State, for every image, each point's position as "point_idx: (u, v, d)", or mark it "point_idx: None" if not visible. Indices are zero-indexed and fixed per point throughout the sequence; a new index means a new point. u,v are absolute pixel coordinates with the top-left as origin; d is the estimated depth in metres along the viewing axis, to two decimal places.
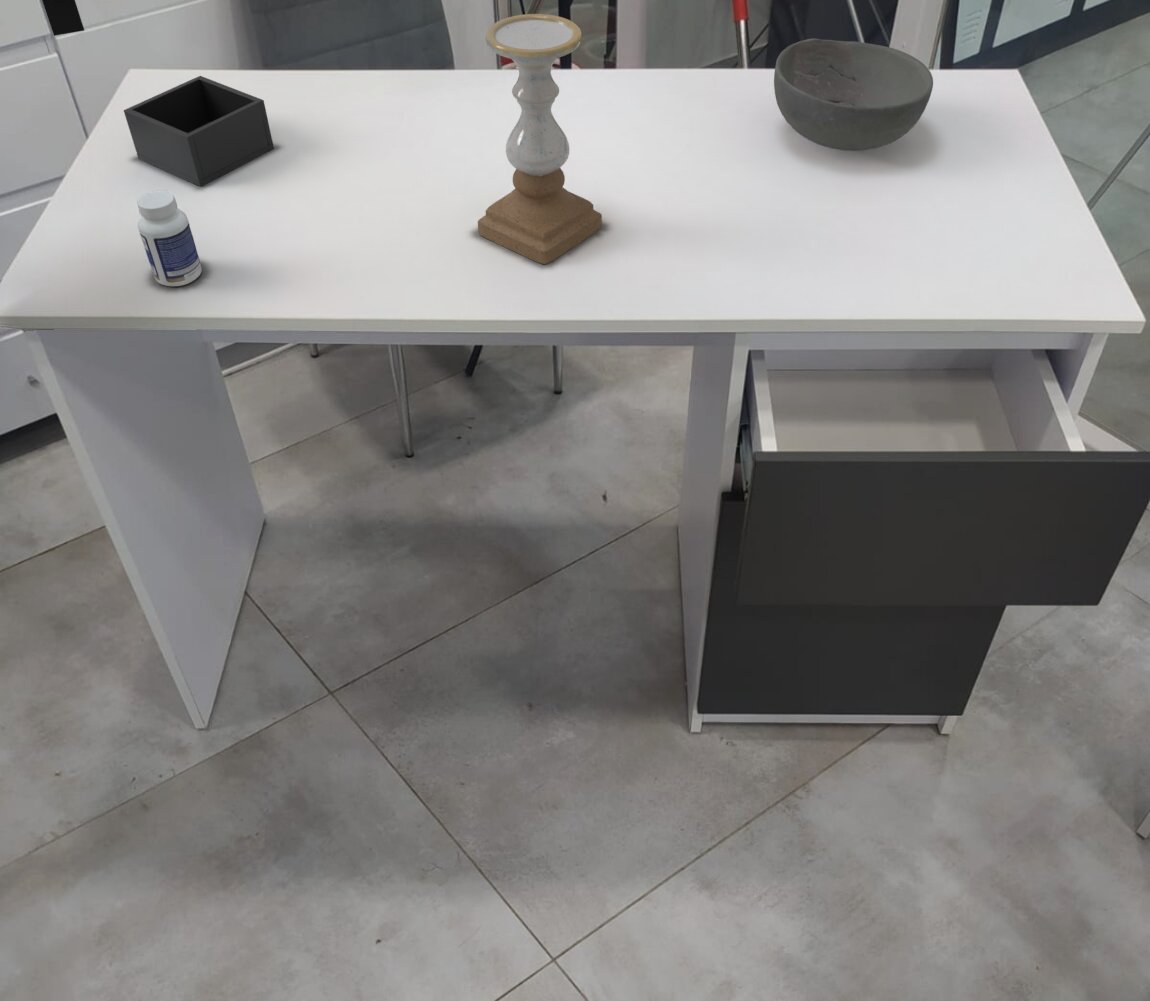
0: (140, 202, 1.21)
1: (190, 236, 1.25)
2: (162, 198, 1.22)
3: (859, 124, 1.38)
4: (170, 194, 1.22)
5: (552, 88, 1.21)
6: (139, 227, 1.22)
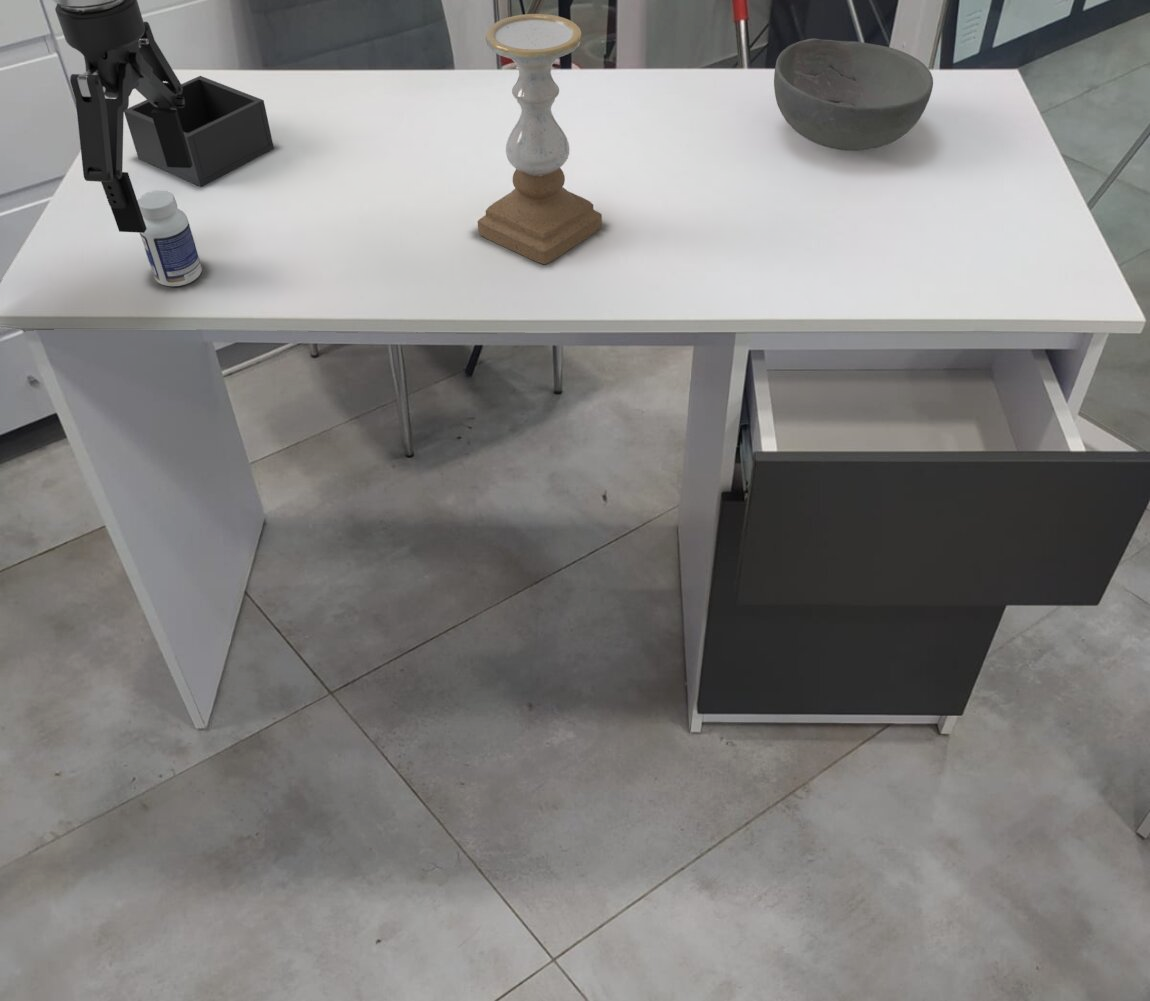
0: (140, 202, 1.21)
1: (190, 236, 1.25)
2: (162, 198, 1.22)
3: (859, 124, 1.38)
4: (170, 194, 1.22)
5: (552, 88, 1.21)
6: None
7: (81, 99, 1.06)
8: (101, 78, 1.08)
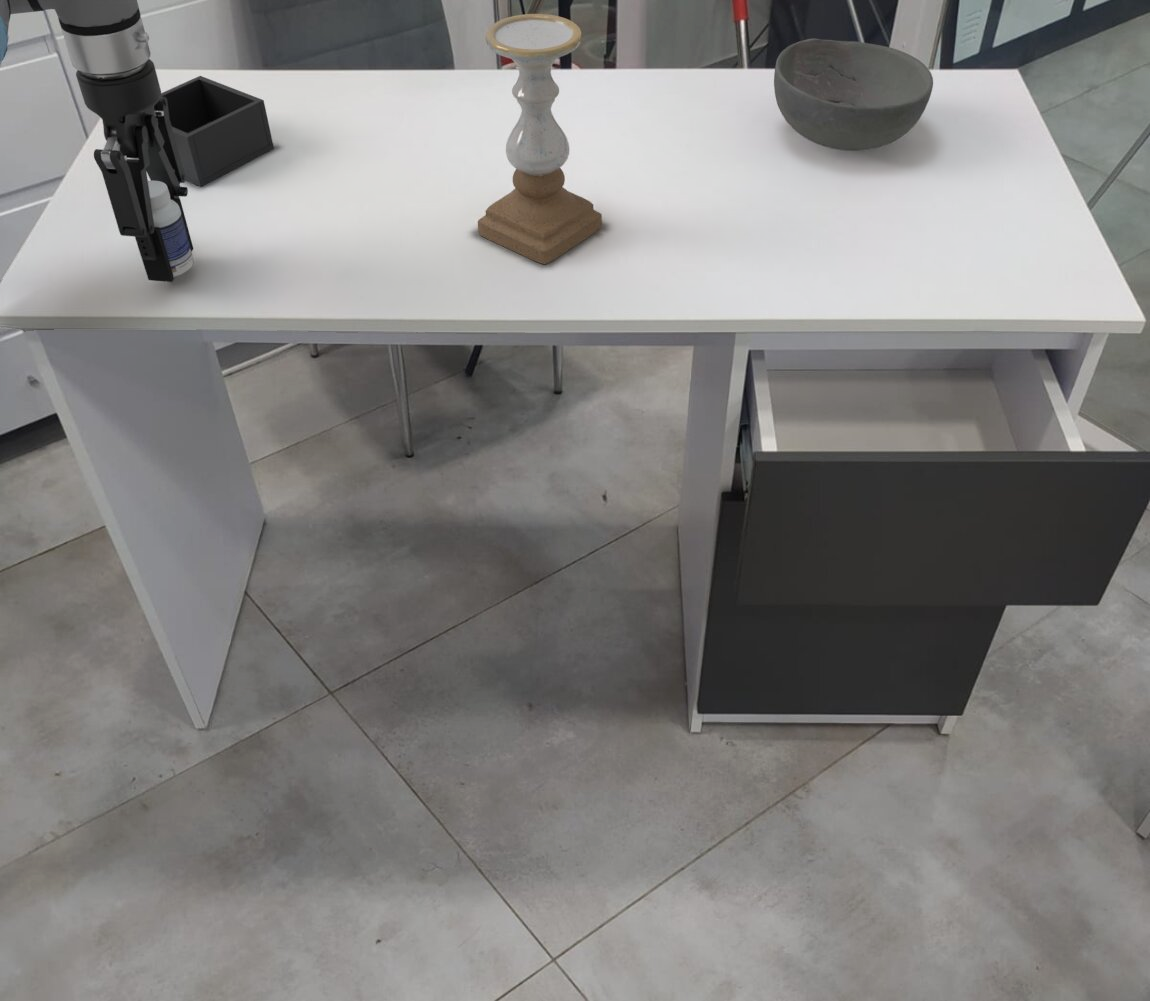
0: None
1: (182, 227, 1.24)
2: (155, 188, 1.21)
3: (859, 124, 1.38)
4: (163, 184, 1.21)
5: (551, 87, 1.21)
6: None
7: (106, 171, 1.12)
8: (120, 144, 1.13)
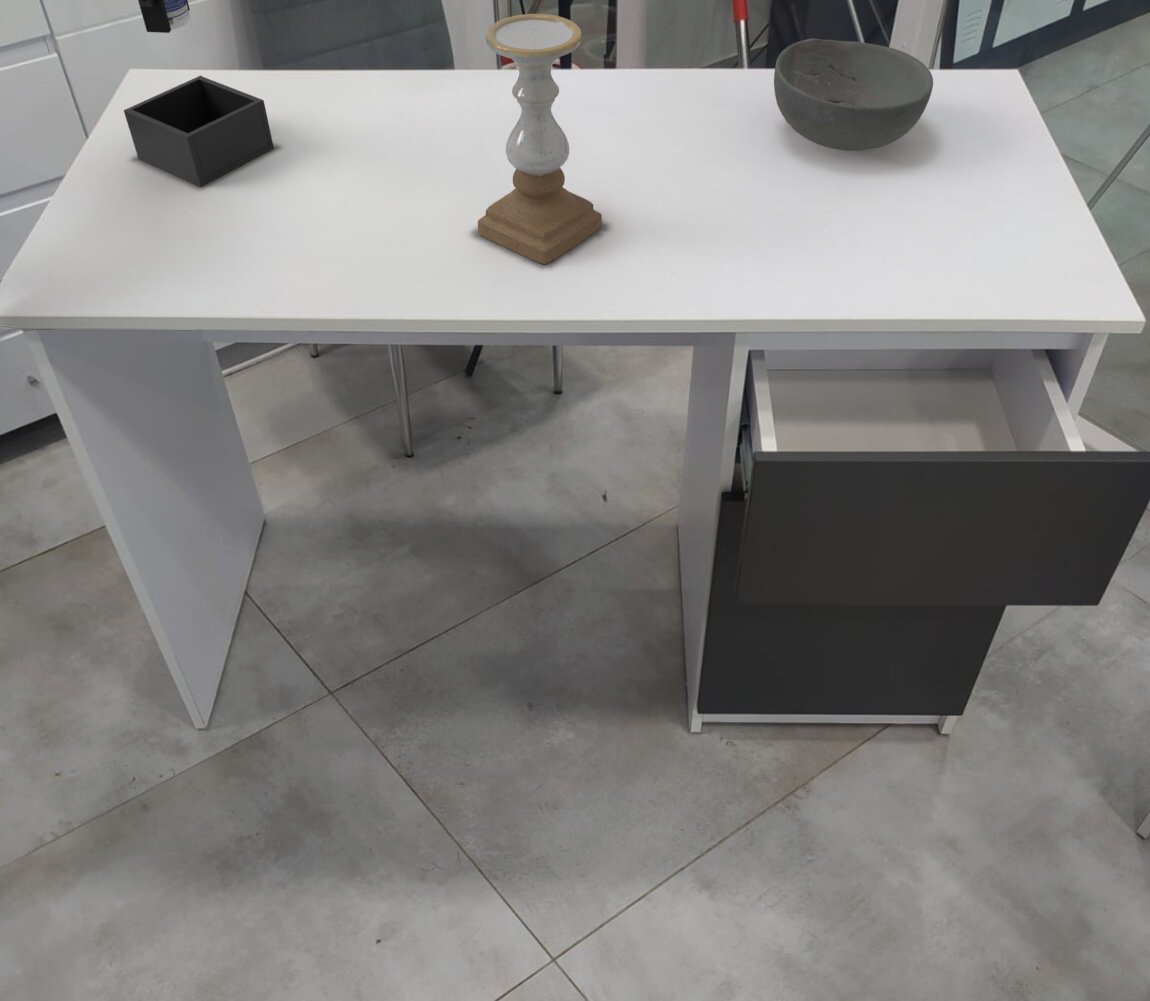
0: None
1: None
2: None
3: (859, 124, 1.38)
4: None
5: (551, 87, 1.21)
6: None
7: None
8: None
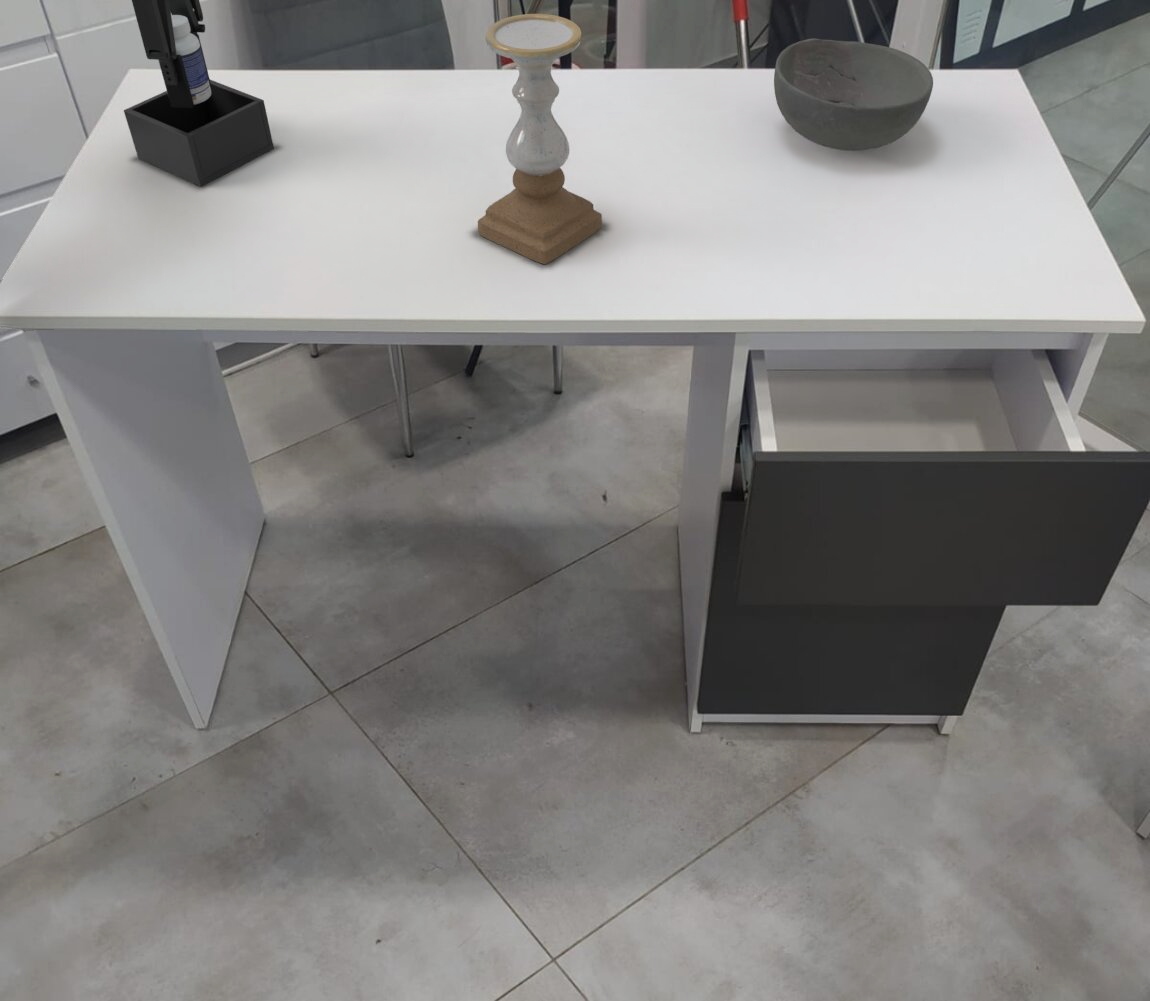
0: None
1: (201, 58, 1.40)
2: (177, 20, 1.36)
3: (859, 124, 1.38)
4: (184, 17, 1.37)
5: (551, 87, 1.21)
6: None
7: None
8: None
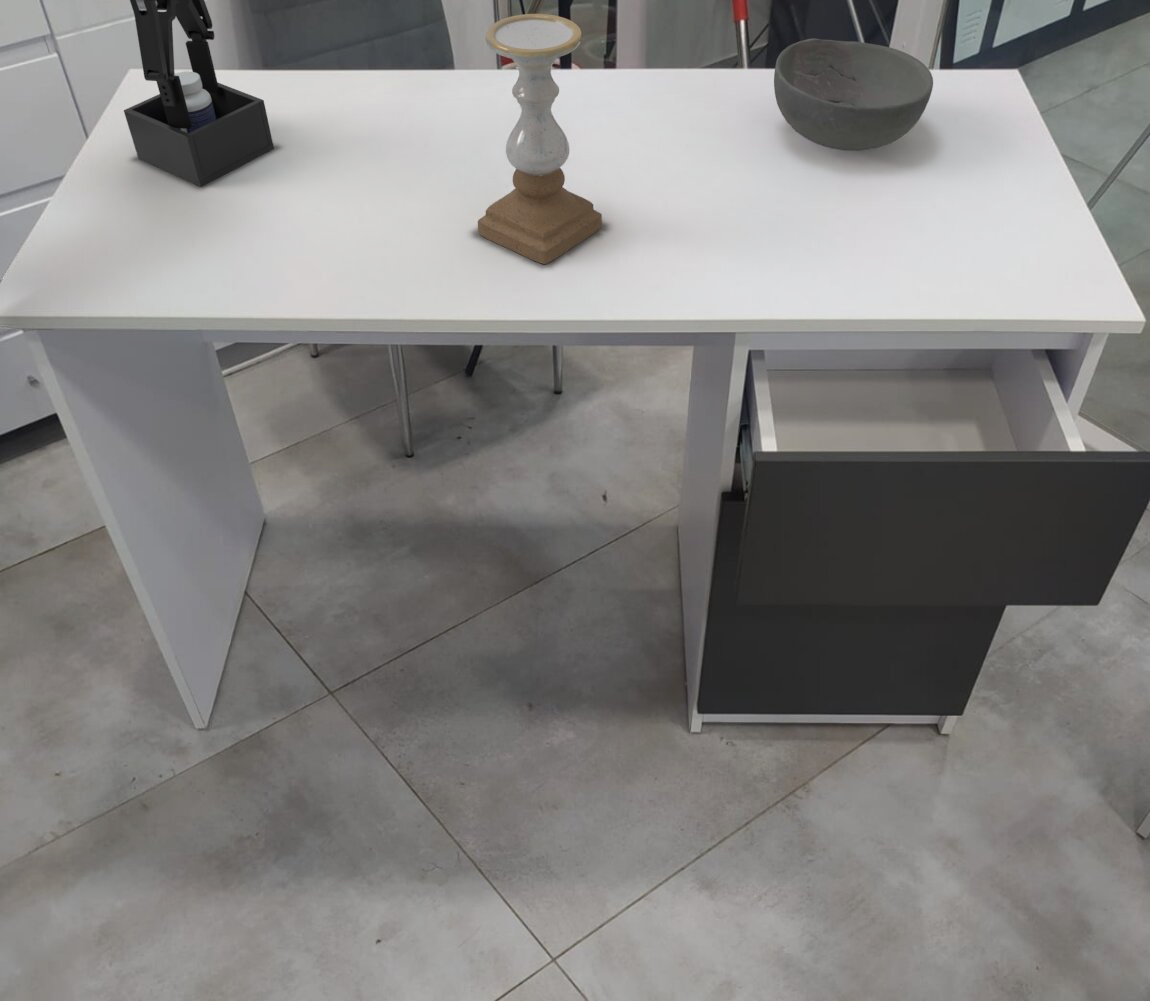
0: None
1: (213, 112, 1.44)
2: (189, 77, 1.41)
3: (859, 124, 1.38)
4: (196, 74, 1.42)
5: (551, 87, 1.21)
6: None
7: (138, 13, 1.29)
8: None
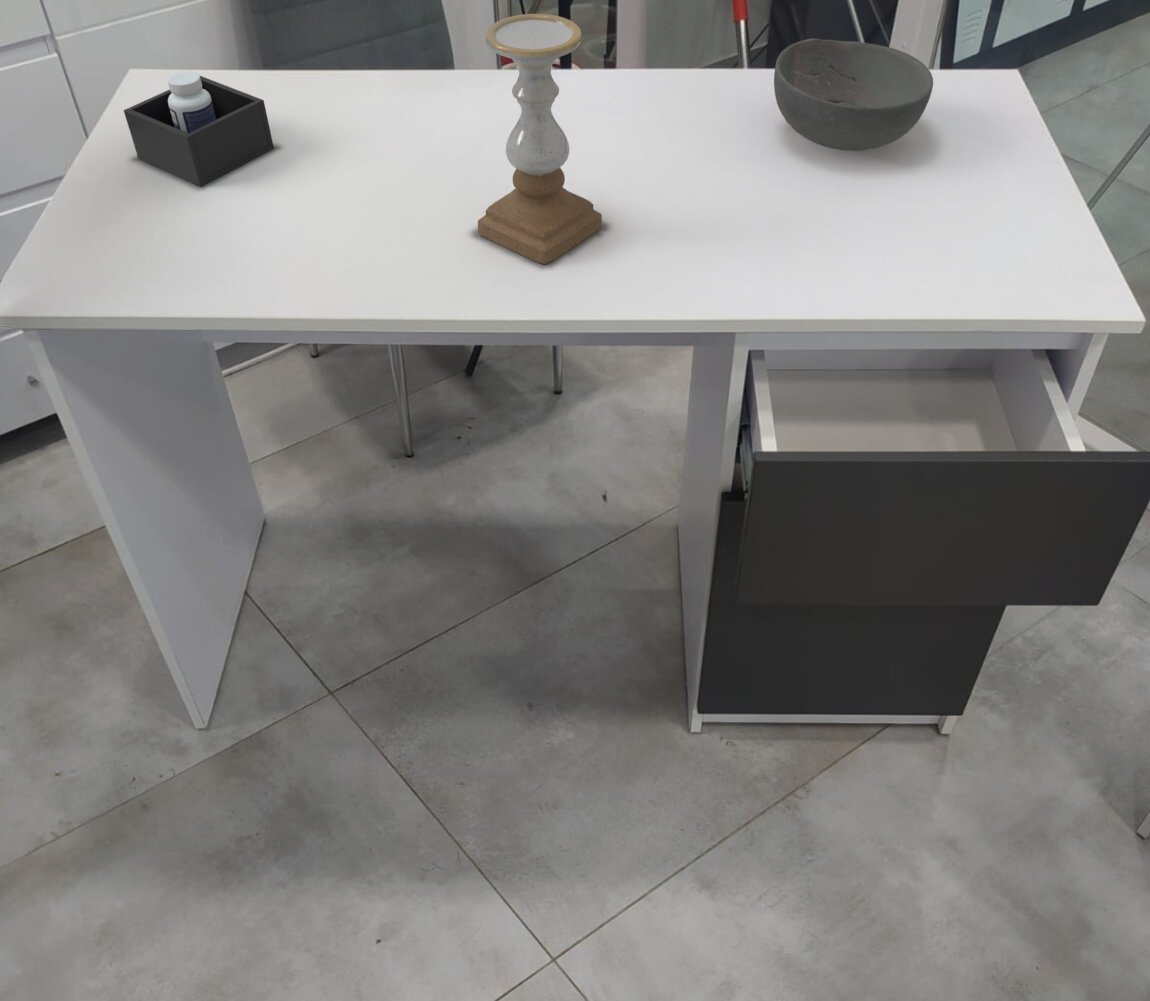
0: (171, 80, 1.40)
1: (213, 112, 1.44)
2: (189, 77, 1.41)
3: (859, 124, 1.38)
4: (196, 74, 1.42)
5: (551, 87, 1.21)
6: (169, 103, 1.42)
7: None
8: None
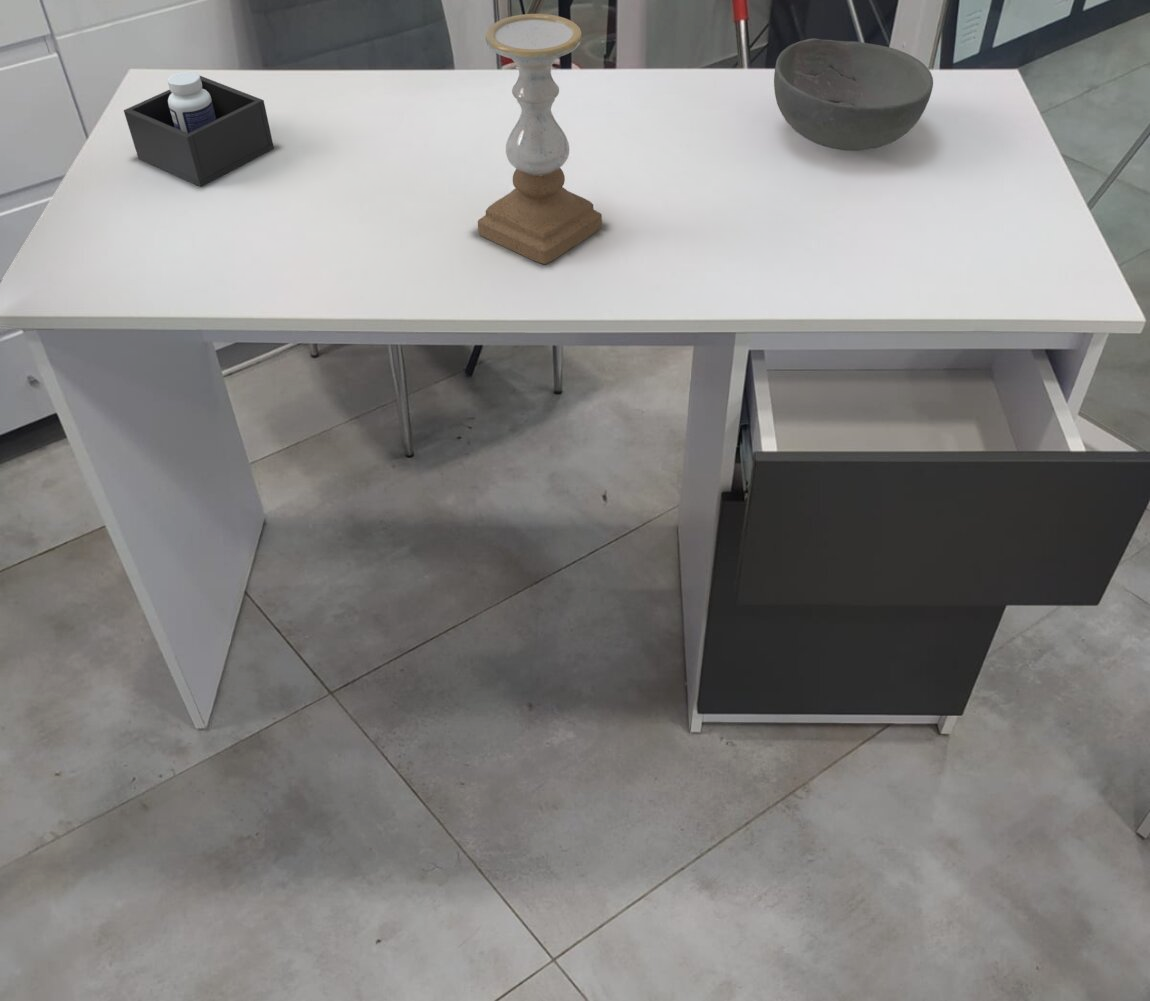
0: (171, 80, 1.40)
1: (213, 112, 1.44)
2: (189, 77, 1.41)
3: (859, 124, 1.38)
4: (196, 74, 1.42)
5: (551, 87, 1.21)
6: (169, 103, 1.42)
7: None
8: None
